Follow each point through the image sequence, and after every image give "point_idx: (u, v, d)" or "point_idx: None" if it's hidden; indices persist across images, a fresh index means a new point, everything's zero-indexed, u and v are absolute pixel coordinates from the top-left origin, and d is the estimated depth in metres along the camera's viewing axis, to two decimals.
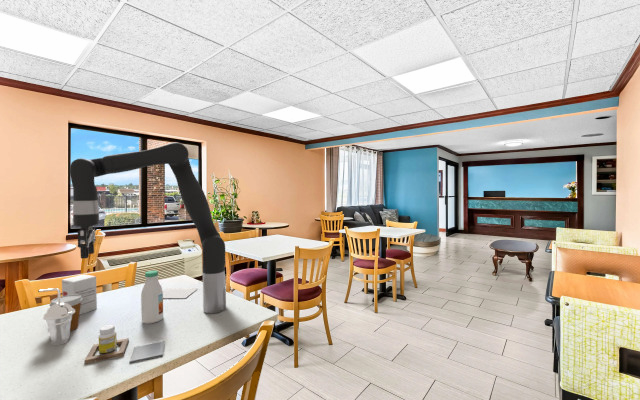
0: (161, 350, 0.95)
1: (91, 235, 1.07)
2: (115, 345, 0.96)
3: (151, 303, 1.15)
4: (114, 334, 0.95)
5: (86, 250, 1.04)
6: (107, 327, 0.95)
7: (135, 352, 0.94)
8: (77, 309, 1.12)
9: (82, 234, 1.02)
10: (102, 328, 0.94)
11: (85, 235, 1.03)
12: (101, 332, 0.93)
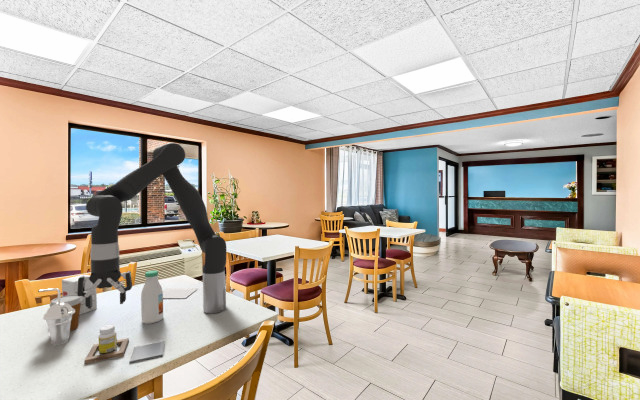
0: (161, 350, 0.95)
1: None
2: (115, 345, 0.96)
3: (151, 303, 1.15)
4: (114, 334, 0.95)
5: None
6: (107, 327, 0.95)
7: (135, 352, 0.94)
8: (77, 309, 1.12)
9: (130, 275, 0.98)
10: (102, 328, 0.94)
11: None
12: (101, 332, 0.93)
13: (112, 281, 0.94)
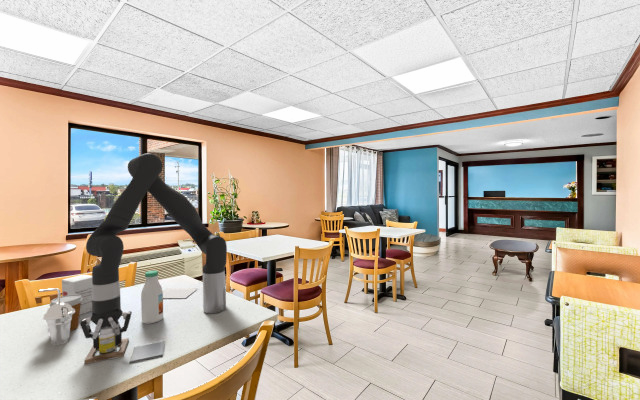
0: (161, 350, 0.95)
1: None
2: (115, 345, 0.96)
3: (151, 303, 1.15)
4: (114, 334, 0.95)
5: None
6: (107, 327, 0.95)
7: (135, 352, 0.94)
8: (77, 309, 1.12)
9: (130, 316, 0.98)
10: (102, 328, 0.94)
11: None
12: (101, 332, 0.93)
13: (112, 321, 0.94)
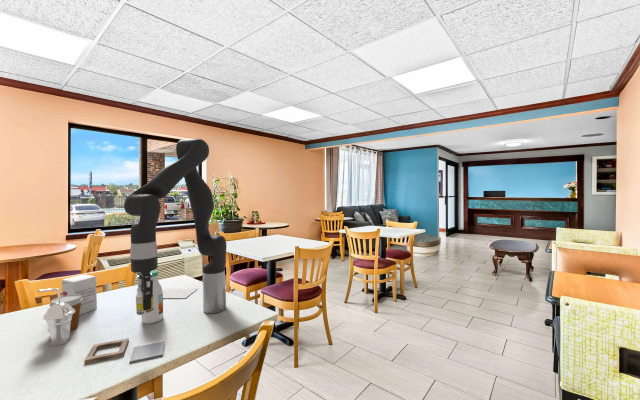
0: (161, 350, 0.95)
1: None
2: None
3: None
4: None
5: (149, 301, 0.93)
6: None
7: (135, 352, 0.94)
8: (77, 309, 1.12)
9: (148, 286, 0.90)
10: None
11: (151, 287, 0.90)
12: None
13: (139, 283, 0.92)
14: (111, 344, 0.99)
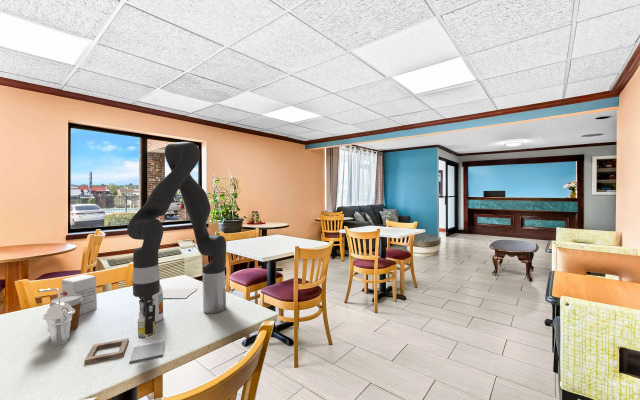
0: (161, 350, 0.95)
1: (153, 305, 0.95)
2: None
3: None
4: None
5: (151, 325, 0.93)
6: None
7: (135, 352, 0.94)
8: (77, 309, 1.12)
9: (151, 310, 0.90)
10: None
11: (153, 311, 0.90)
12: None
13: (141, 307, 0.92)
14: (111, 344, 0.99)
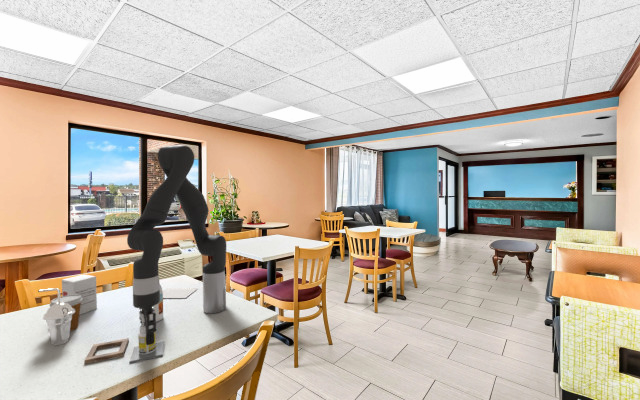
0: (161, 350, 0.95)
1: None
2: (147, 348, 0.93)
3: None
4: None
5: (153, 335, 0.92)
6: None
7: (135, 352, 0.94)
8: (77, 309, 1.12)
9: (151, 318, 0.90)
10: None
11: (154, 319, 0.90)
12: None
13: (142, 317, 0.92)
14: (111, 344, 0.99)
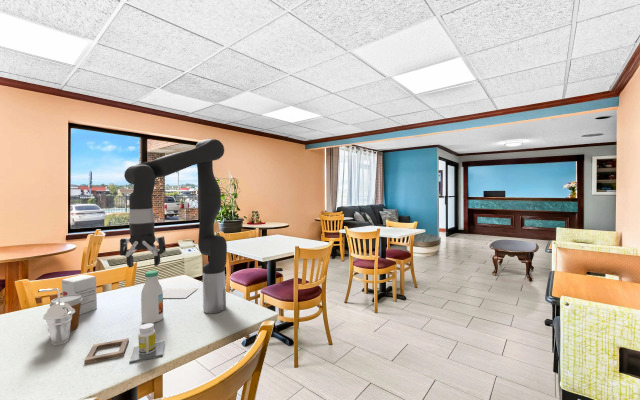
0: (161, 350, 0.95)
1: None
2: (147, 348, 0.93)
3: (151, 303, 1.15)
4: (146, 336, 0.93)
5: None
6: (145, 326, 0.94)
7: (135, 352, 0.94)
8: (77, 309, 1.12)
9: (163, 240, 1.05)
10: (143, 325, 0.95)
11: (164, 241, 1.05)
12: None
13: (147, 244, 1.02)
14: (111, 344, 0.99)
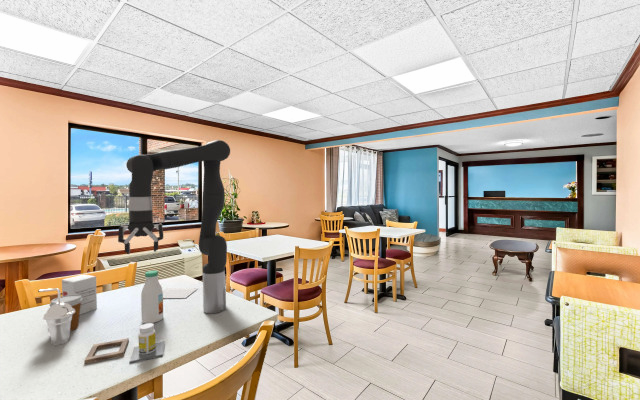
0: (161, 350, 0.95)
1: None
2: (147, 348, 0.93)
3: (151, 303, 1.15)
4: (146, 336, 0.93)
5: None
6: (145, 326, 0.94)
7: (135, 352, 0.94)
8: (77, 309, 1.12)
9: (162, 227, 1.11)
10: (143, 325, 0.95)
11: None
12: None
13: (147, 230, 1.07)
14: (111, 344, 0.99)
